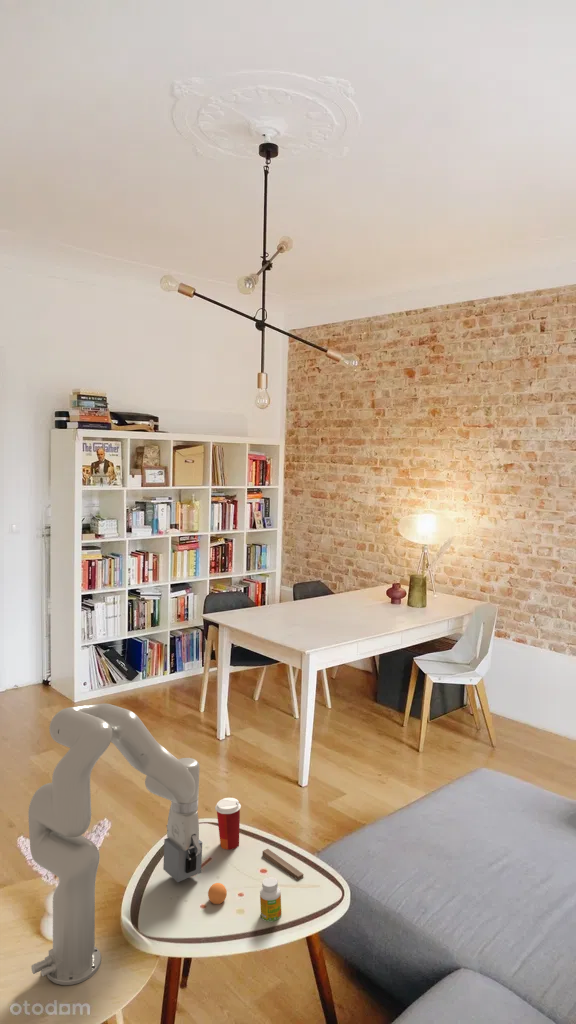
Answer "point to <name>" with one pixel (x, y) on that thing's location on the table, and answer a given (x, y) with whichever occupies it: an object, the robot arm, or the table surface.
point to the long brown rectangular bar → (282, 864)
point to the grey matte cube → (179, 861)
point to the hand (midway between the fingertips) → (182, 864)
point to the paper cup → (228, 822)
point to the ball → (217, 893)
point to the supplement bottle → (270, 900)
